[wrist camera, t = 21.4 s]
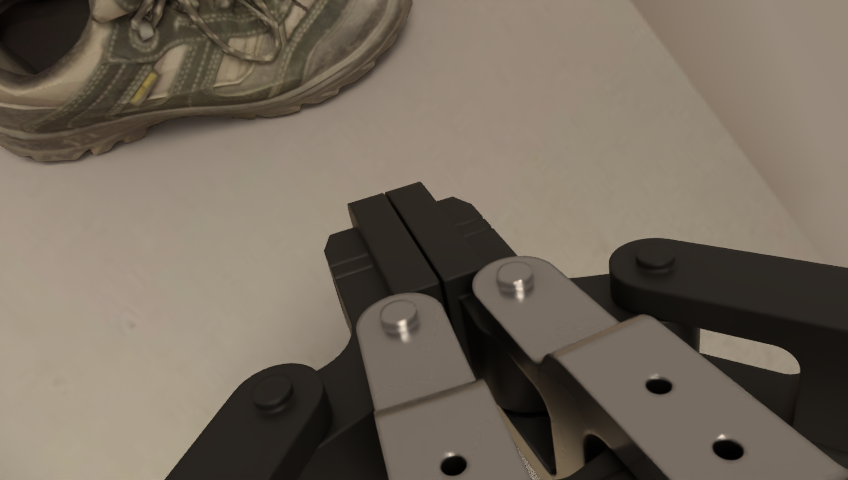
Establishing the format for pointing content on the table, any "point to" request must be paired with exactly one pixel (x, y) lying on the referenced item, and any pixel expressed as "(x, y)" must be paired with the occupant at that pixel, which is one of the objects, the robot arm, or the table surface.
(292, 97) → the hiking shoe
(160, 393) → the table surface
